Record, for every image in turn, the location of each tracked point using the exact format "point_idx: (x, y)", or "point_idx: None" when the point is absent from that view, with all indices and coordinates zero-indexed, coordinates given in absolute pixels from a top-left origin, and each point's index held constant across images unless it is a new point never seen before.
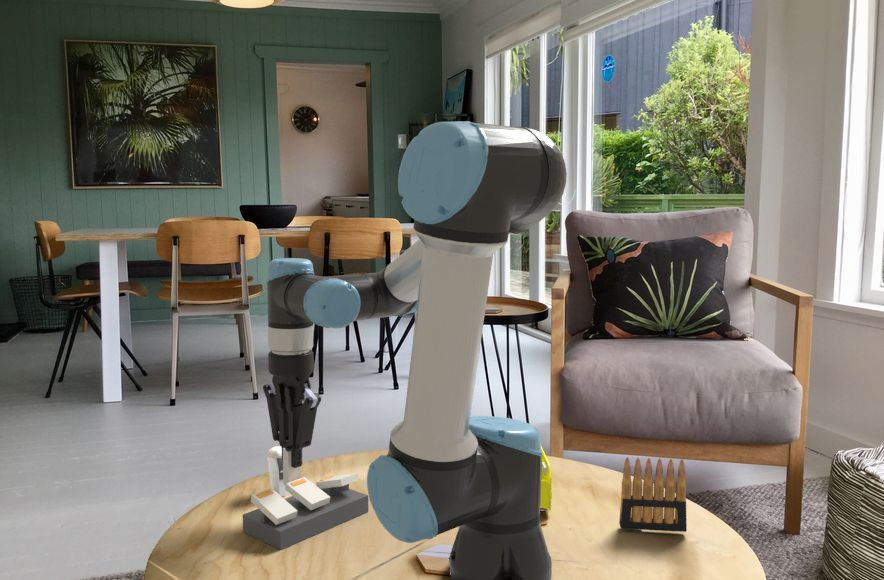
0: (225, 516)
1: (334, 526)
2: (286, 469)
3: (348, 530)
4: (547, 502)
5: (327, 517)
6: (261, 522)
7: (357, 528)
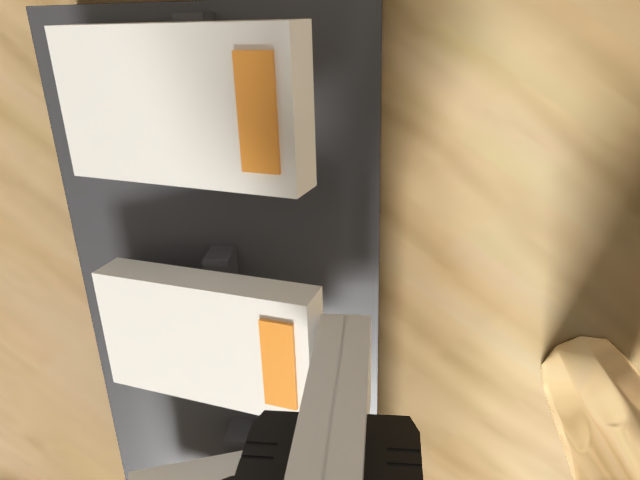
0: (623, 48)
1: None
2: (327, 378)
3: (65, 311)
4: None
5: None
6: (201, 6)
7: (59, 342)
